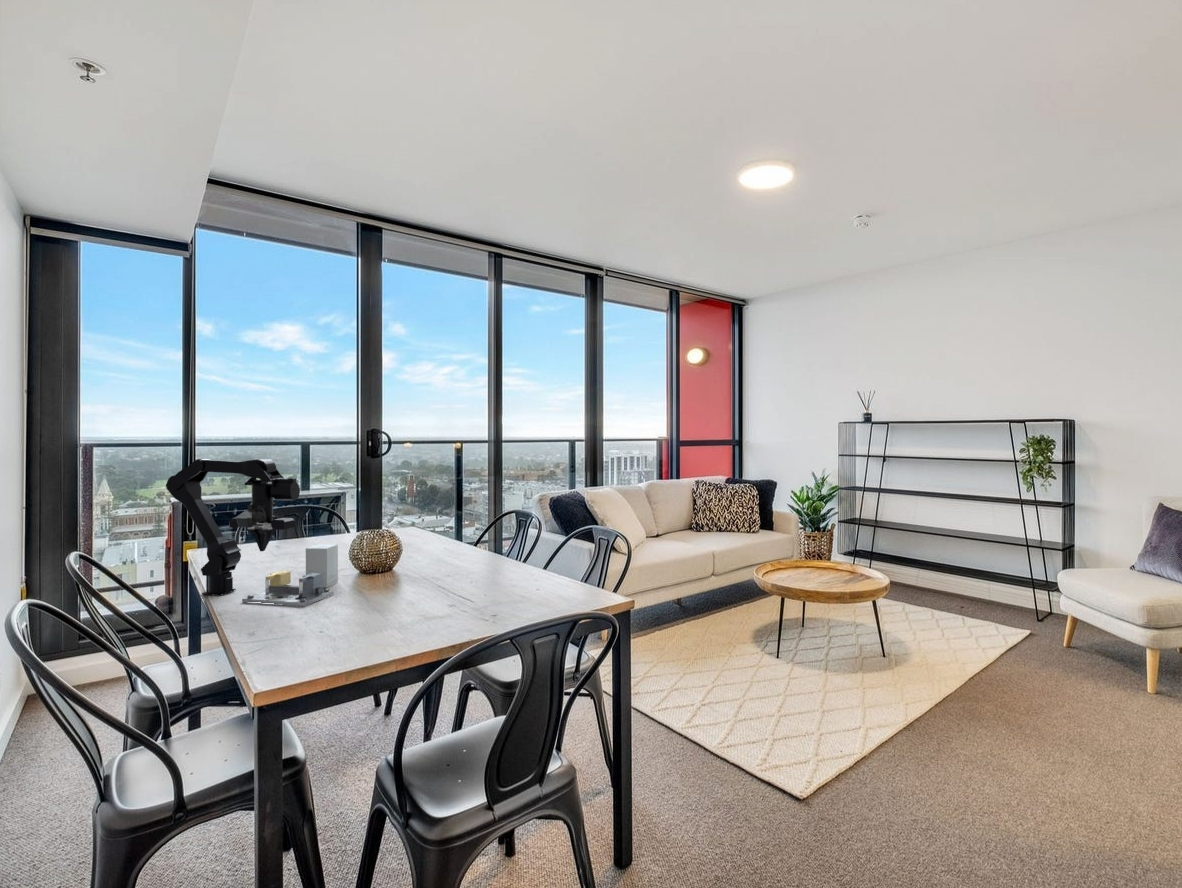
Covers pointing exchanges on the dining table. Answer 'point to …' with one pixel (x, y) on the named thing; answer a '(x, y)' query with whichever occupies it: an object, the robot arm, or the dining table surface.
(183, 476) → the robot arm
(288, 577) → the yellow chamfered block
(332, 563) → the supplement box
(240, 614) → the dining table surface
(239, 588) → the dining table surface
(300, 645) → the dining table surface
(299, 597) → the bolt plate
